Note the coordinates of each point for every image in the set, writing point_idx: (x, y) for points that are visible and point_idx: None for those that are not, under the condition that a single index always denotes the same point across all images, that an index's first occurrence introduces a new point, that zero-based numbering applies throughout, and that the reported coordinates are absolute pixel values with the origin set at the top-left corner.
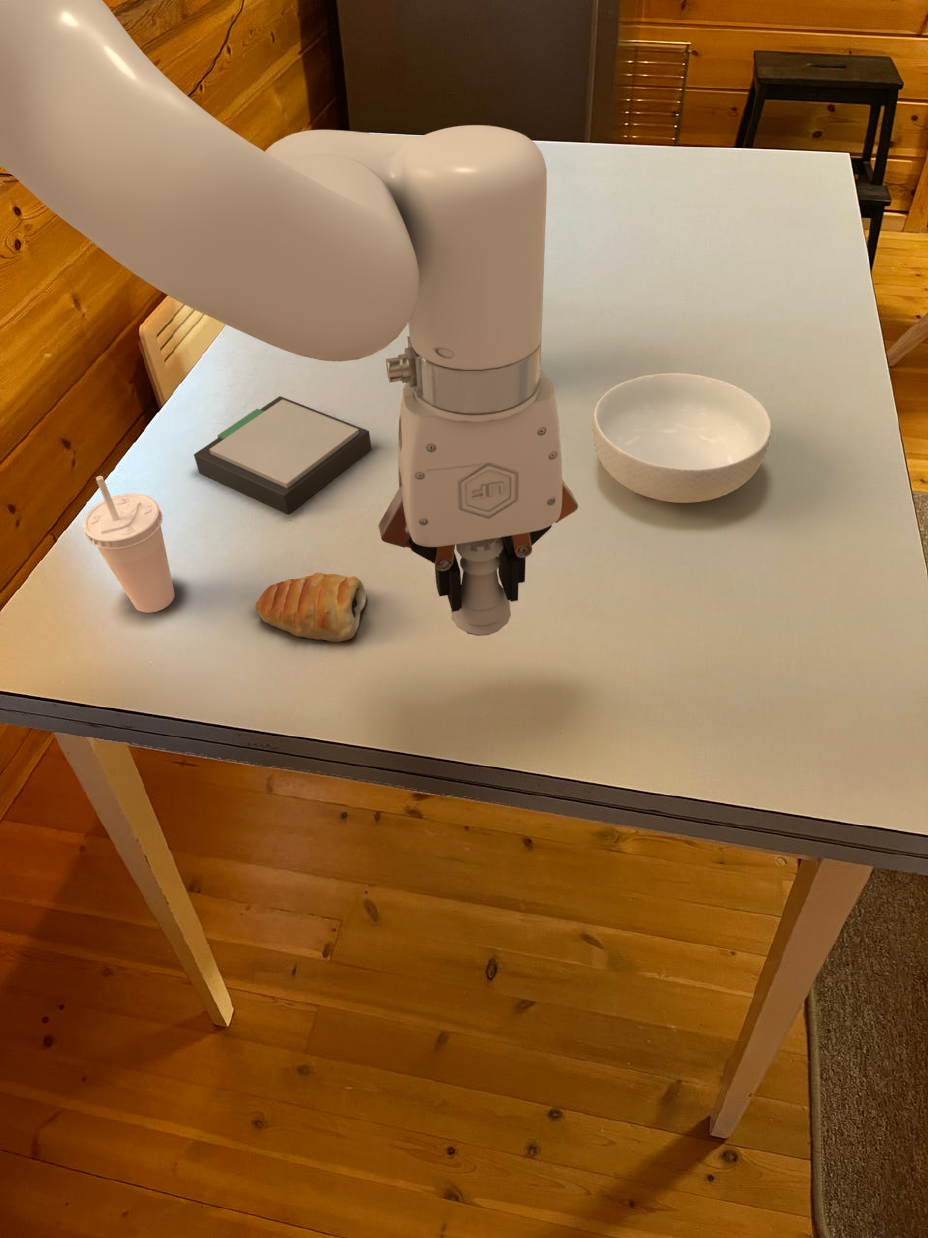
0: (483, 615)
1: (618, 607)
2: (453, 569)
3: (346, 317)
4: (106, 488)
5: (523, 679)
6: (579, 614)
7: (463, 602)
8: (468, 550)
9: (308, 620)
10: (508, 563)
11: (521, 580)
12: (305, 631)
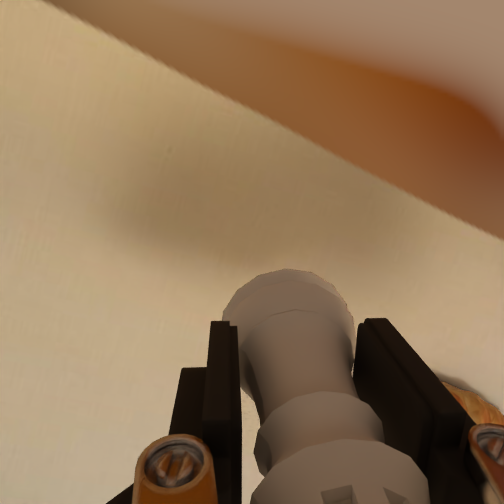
0: (302, 301)
1: (29, 358)
2: (453, 424)
3: None
4: None
5: (199, 260)
6: (90, 356)
7: (347, 342)
8: (411, 500)
9: (473, 408)
10: (240, 419)
11: (191, 371)
12: (471, 393)
